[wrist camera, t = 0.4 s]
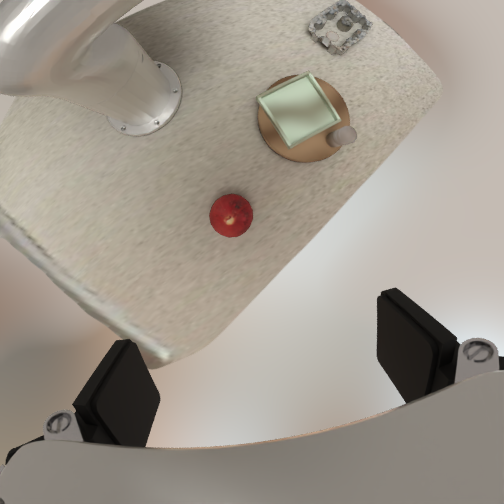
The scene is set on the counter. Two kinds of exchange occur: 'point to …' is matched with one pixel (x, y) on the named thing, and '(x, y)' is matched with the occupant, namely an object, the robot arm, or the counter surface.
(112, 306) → the counter surface
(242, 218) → the onion
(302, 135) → the disc
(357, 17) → the egg carton
